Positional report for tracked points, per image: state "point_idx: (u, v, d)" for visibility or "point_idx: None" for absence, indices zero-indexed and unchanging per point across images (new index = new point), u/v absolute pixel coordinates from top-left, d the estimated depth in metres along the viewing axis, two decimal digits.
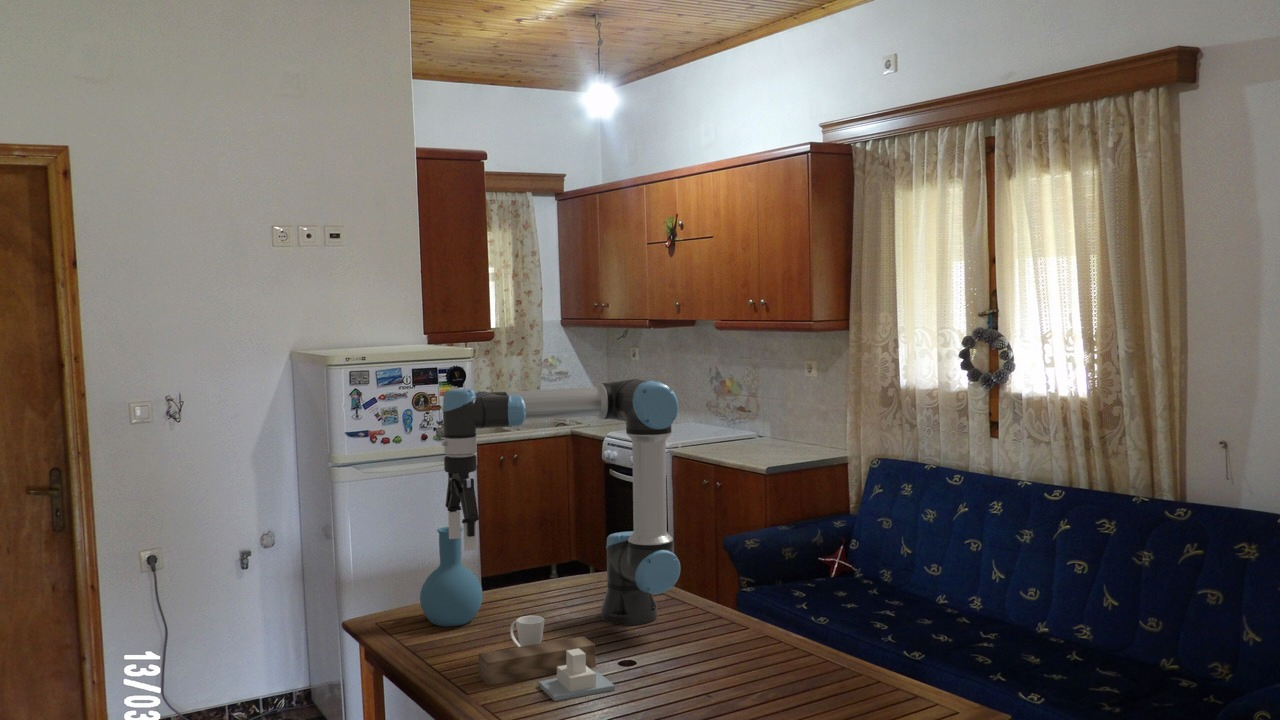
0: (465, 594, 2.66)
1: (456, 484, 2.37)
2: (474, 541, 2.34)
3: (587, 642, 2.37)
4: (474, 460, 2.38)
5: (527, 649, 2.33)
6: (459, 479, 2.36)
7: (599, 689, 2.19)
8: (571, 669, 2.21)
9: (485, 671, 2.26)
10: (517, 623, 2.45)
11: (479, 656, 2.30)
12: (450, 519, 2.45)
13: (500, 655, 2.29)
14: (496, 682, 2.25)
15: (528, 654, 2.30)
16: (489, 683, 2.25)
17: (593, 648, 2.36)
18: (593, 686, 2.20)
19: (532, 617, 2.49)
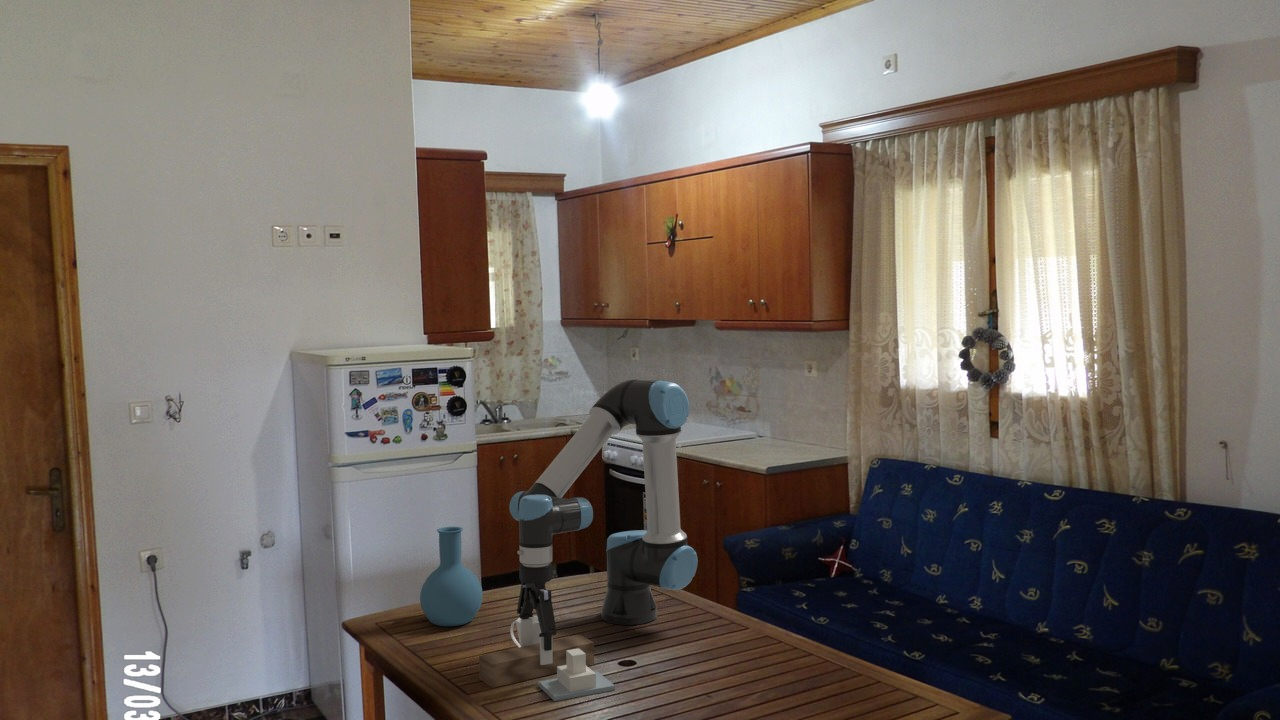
0: (465, 594, 2.66)
1: (532, 594, 2.30)
2: (551, 655, 2.27)
3: (584, 640, 2.39)
4: (550, 569, 2.31)
5: (527, 650, 2.32)
6: (535, 589, 2.29)
7: (599, 689, 2.19)
8: (571, 669, 2.21)
9: (489, 673, 2.25)
10: (517, 623, 2.45)
11: (480, 658, 2.28)
12: (522, 627, 2.38)
13: (502, 657, 2.28)
14: (500, 684, 2.25)
15: (530, 654, 2.29)
16: (493, 685, 2.24)
17: (592, 646, 2.37)
18: (593, 686, 2.20)
19: (532, 617, 2.49)
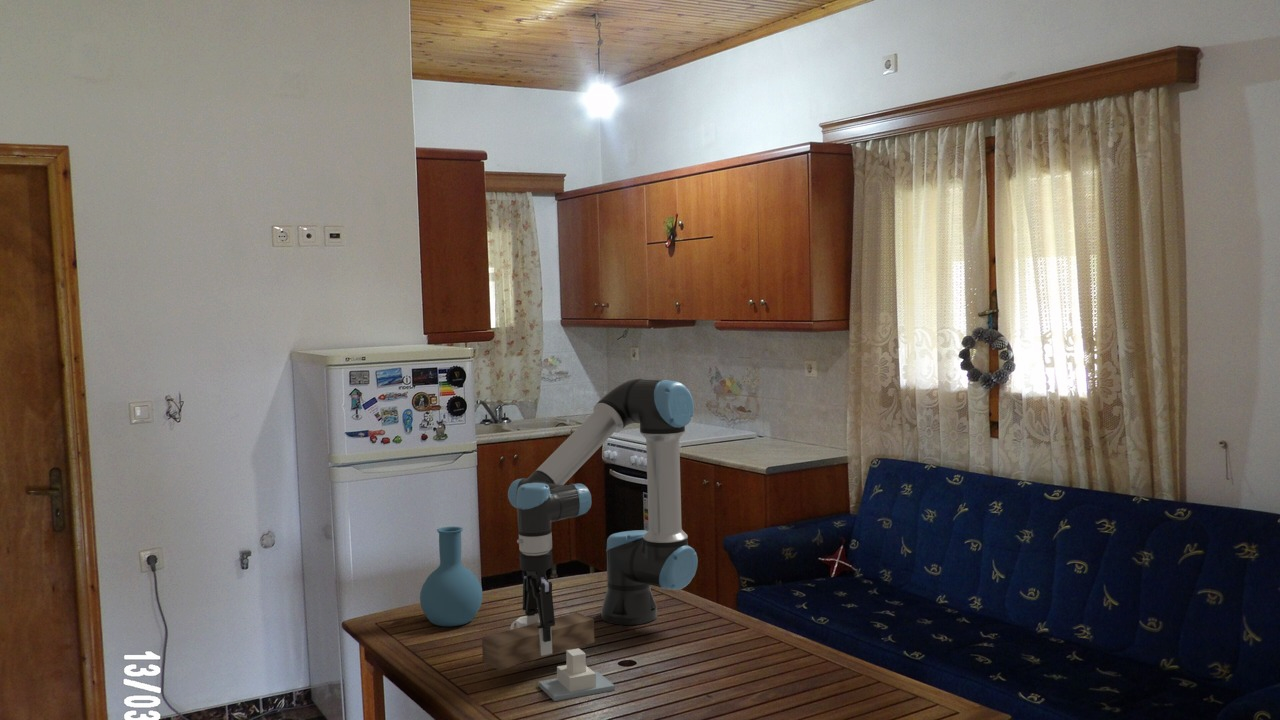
0: (465, 594, 2.66)
1: (533, 583, 2.30)
2: (550, 645, 2.30)
3: (584, 617, 2.40)
4: (550, 557, 2.31)
5: (529, 629, 2.32)
6: (536, 578, 2.30)
7: (599, 689, 2.19)
8: (571, 669, 2.21)
9: (494, 654, 2.24)
10: (517, 623, 2.45)
11: (483, 640, 2.28)
12: (529, 624, 2.37)
13: (506, 637, 2.28)
14: (506, 664, 2.24)
15: (533, 633, 2.30)
16: (500, 665, 2.23)
17: (592, 622, 2.39)
18: (593, 686, 2.20)
19: None
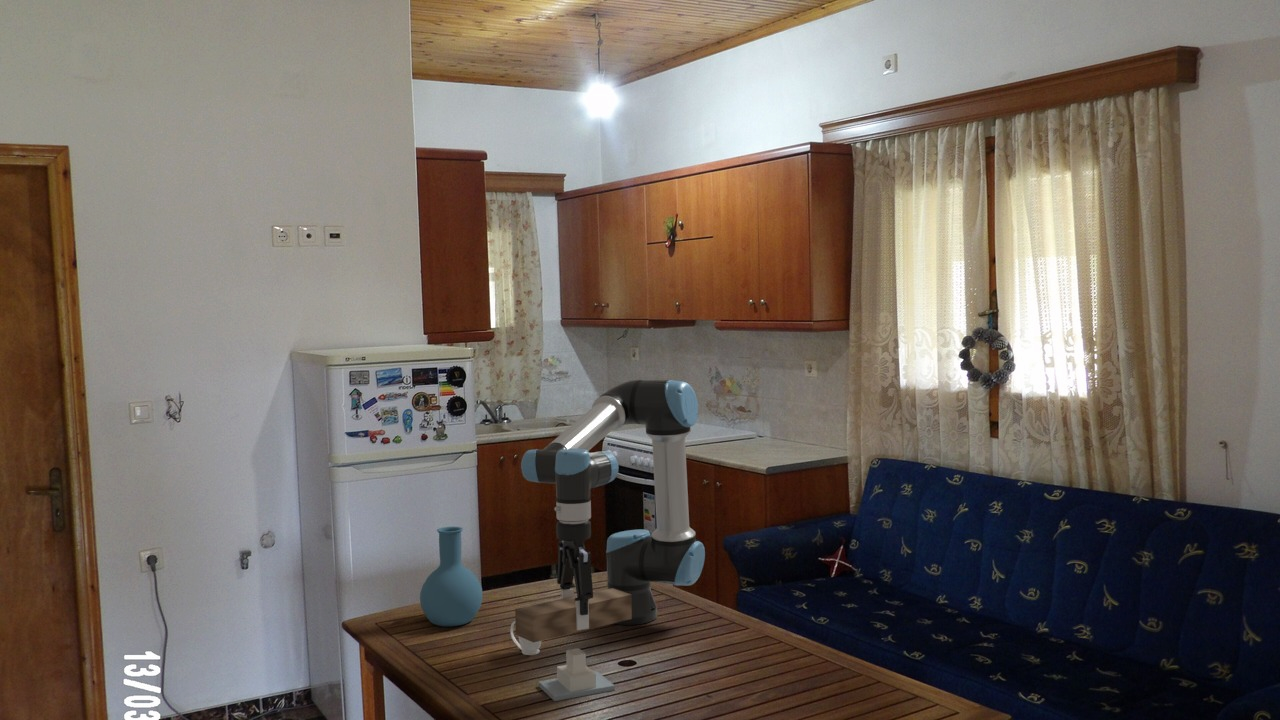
0: (465, 594, 2.66)
1: (570, 553, 2.18)
2: (587, 620, 2.18)
3: (621, 593, 2.28)
4: (589, 526, 2.20)
5: (565, 603, 2.21)
6: (574, 547, 2.18)
7: (599, 689, 2.19)
8: (571, 669, 2.21)
9: (528, 626, 2.12)
10: None
11: (517, 611, 2.16)
12: (563, 598, 2.25)
13: (540, 609, 2.16)
14: (541, 637, 2.12)
15: (569, 606, 2.18)
16: (534, 638, 2.11)
17: (629, 598, 2.27)
18: (593, 686, 2.20)
19: None
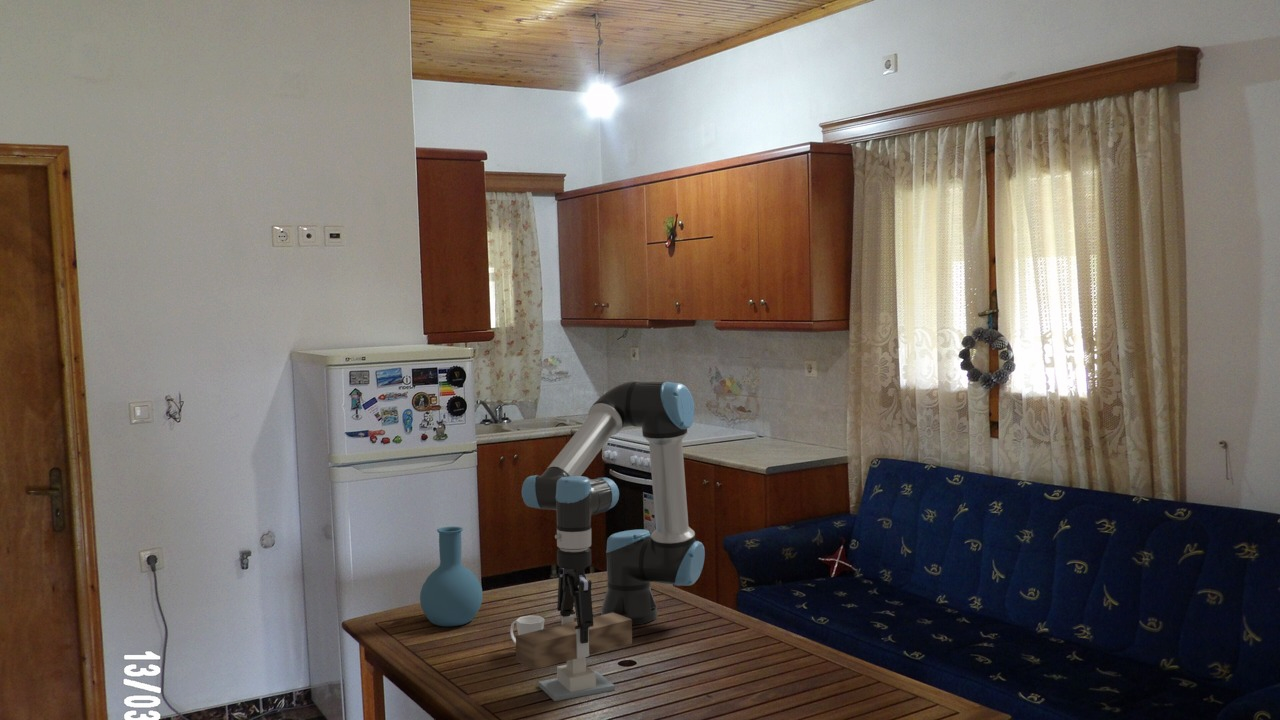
0: (465, 594, 2.66)
1: (571, 581, 2.19)
2: (587, 648, 2.18)
3: (621, 617, 2.28)
4: (589, 554, 2.20)
5: (565, 628, 2.21)
6: (574, 575, 2.18)
7: (599, 689, 2.19)
8: (571, 669, 2.21)
9: (529, 654, 2.12)
10: (517, 623, 2.45)
11: (517, 638, 2.16)
12: None
13: (541, 636, 2.16)
14: (541, 664, 2.12)
15: (570, 633, 2.18)
16: (535, 665, 2.11)
17: (630, 623, 2.27)
18: (593, 686, 2.20)
19: (532, 617, 2.49)
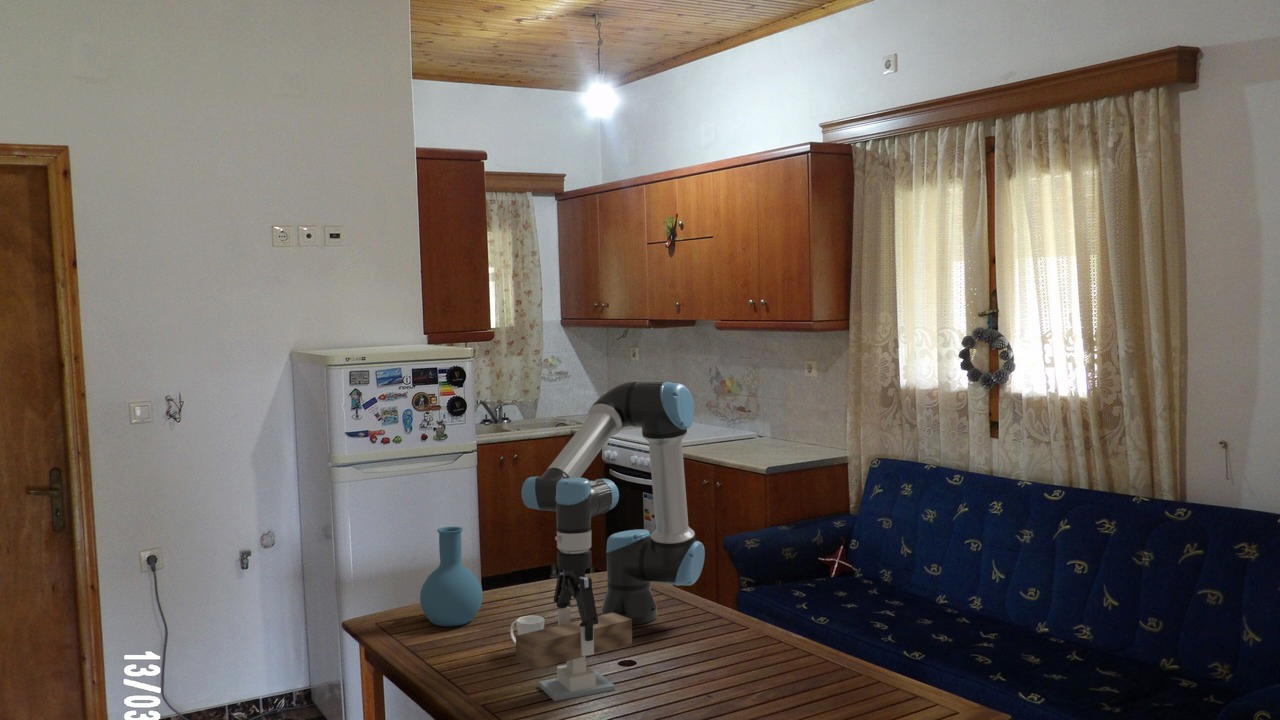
0: (465, 594, 2.66)
1: (571, 582, 2.19)
2: (592, 645, 2.16)
3: (621, 617, 2.28)
4: (590, 556, 2.20)
5: (565, 628, 2.21)
6: (574, 577, 2.18)
7: (599, 689, 2.19)
8: (571, 669, 2.21)
9: (529, 654, 2.12)
10: (517, 623, 2.45)
11: (517, 638, 2.16)
12: (560, 616, 2.27)
13: (541, 636, 2.16)
14: (541, 664, 2.12)
15: (570, 633, 2.18)
16: (535, 665, 2.11)
17: (630, 623, 2.27)
18: (593, 686, 2.20)
19: (532, 617, 2.49)
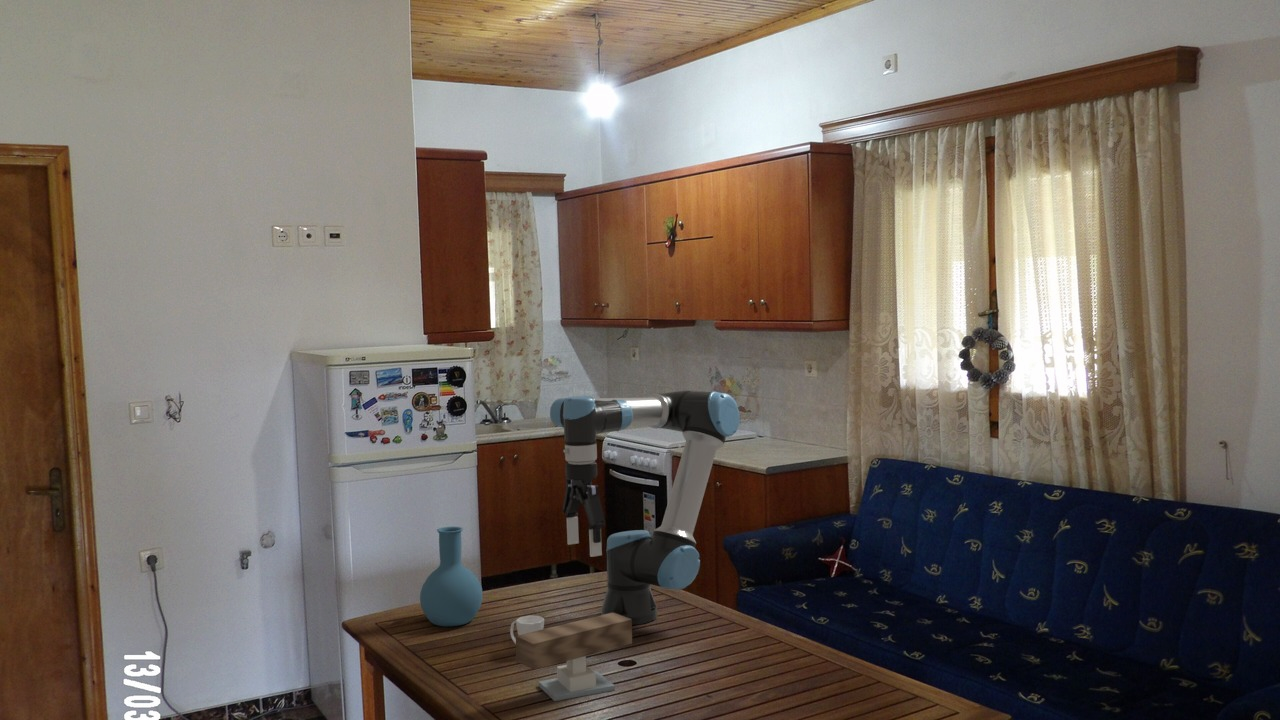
0: (465, 594, 2.66)
1: (579, 491, 2.39)
2: (600, 547, 2.36)
3: (621, 617, 2.28)
4: (596, 467, 2.40)
5: (565, 628, 2.21)
6: (582, 486, 2.38)
7: (599, 689, 2.19)
8: (571, 669, 2.21)
9: (529, 654, 2.12)
10: (517, 623, 2.45)
11: (517, 638, 2.16)
12: (569, 525, 2.47)
13: (541, 636, 2.16)
14: (541, 664, 2.12)
15: (570, 633, 2.18)
16: (535, 665, 2.11)
17: (630, 623, 2.27)
18: (593, 686, 2.20)
19: (532, 617, 2.49)
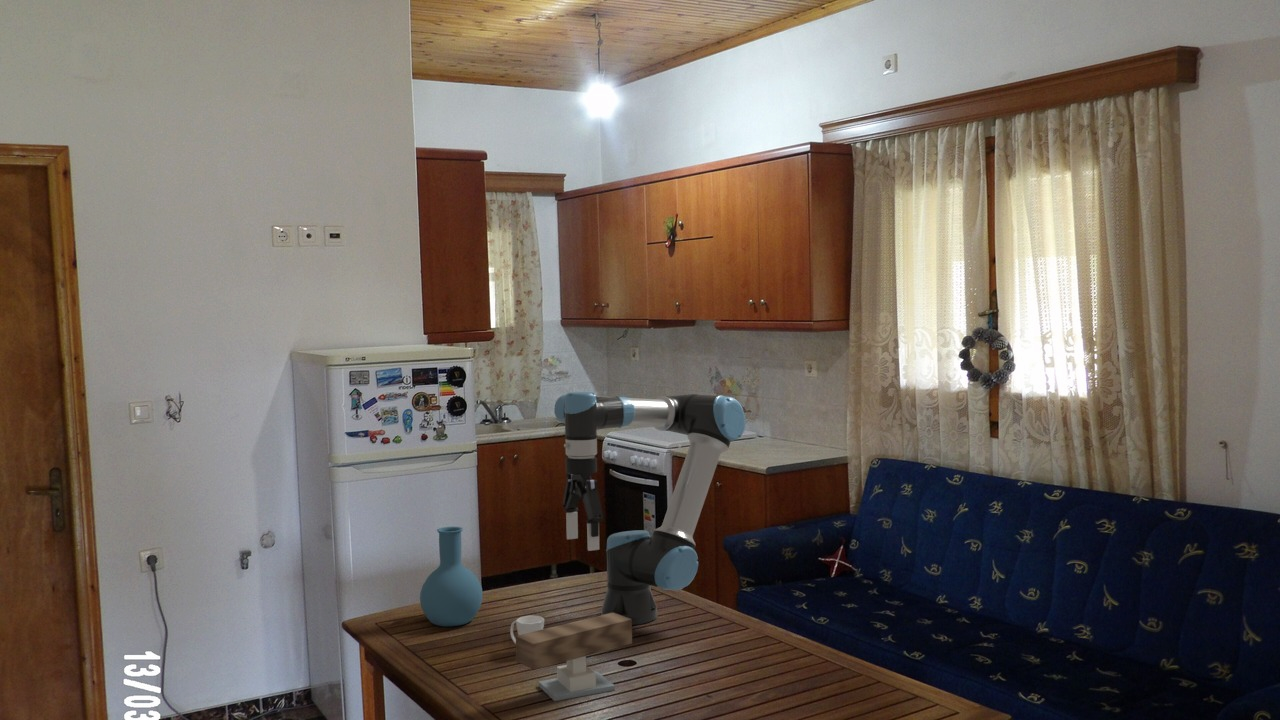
0: (465, 594, 2.66)
1: (578, 485, 2.40)
2: (598, 541, 2.38)
3: (621, 617, 2.28)
4: (595, 461, 2.42)
5: (565, 628, 2.21)
6: (581, 480, 2.40)
7: (599, 689, 2.19)
8: (571, 669, 2.21)
9: (529, 654, 2.12)
10: (517, 623, 2.45)
11: (517, 638, 2.16)
12: (568, 519, 2.49)
13: (541, 636, 2.16)
14: (541, 664, 2.12)
15: (570, 633, 2.18)
16: (535, 665, 2.11)
17: (630, 623, 2.27)
18: (593, 686, 2.20)
19: (532, 617, 2.49)
